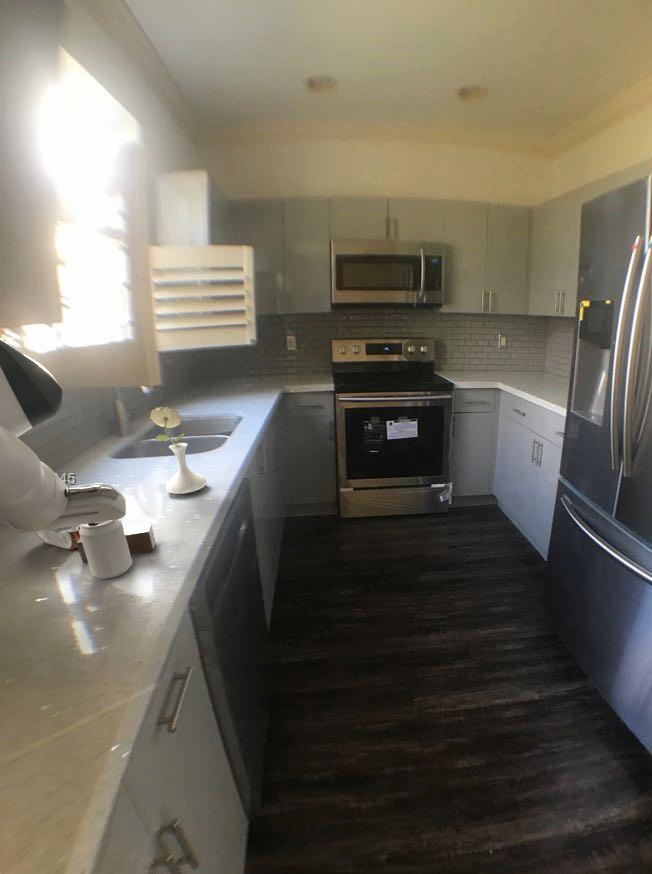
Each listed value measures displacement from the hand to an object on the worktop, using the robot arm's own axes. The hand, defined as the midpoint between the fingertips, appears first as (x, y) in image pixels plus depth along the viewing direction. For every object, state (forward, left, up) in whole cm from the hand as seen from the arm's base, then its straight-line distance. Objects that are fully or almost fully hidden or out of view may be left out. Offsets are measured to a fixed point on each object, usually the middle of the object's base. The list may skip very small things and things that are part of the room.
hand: (69, 528), depth 76 cm
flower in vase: (+11, +57, -17) cm, 61 cm away
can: (0, +14, -17) cm, 22 cm away
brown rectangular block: (0, +22, -17) cm, 28 cm away
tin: (-14, +31, -17) cm, 38 cm away
